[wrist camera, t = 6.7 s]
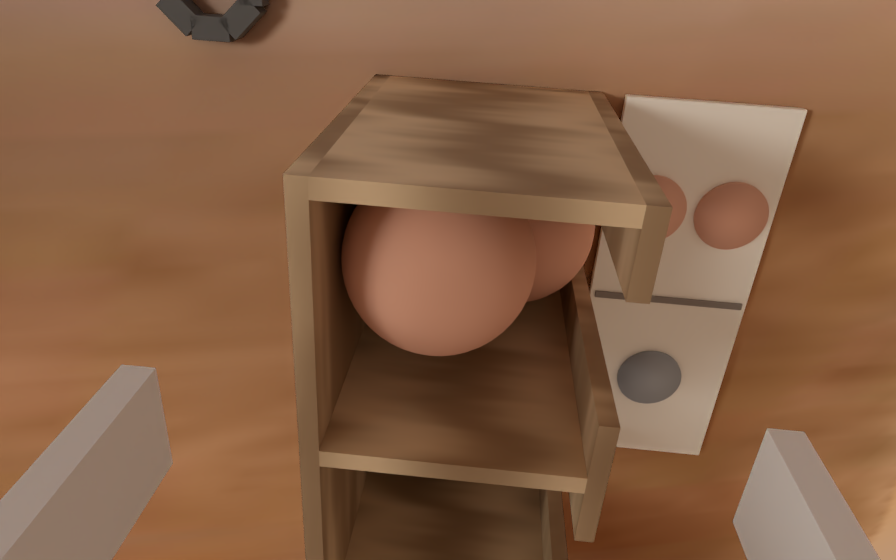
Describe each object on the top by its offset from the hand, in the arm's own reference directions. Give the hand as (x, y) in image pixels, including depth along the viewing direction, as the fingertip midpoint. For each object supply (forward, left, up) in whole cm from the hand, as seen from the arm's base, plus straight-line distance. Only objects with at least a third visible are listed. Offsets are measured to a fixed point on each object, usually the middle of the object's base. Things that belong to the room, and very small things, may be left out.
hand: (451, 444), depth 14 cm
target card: (+9, -4, -16) cm, 19 cm away
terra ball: (-1, +1, -7) cm, 7 cm away
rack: (0, -4, -16) cm, 17 cm away
